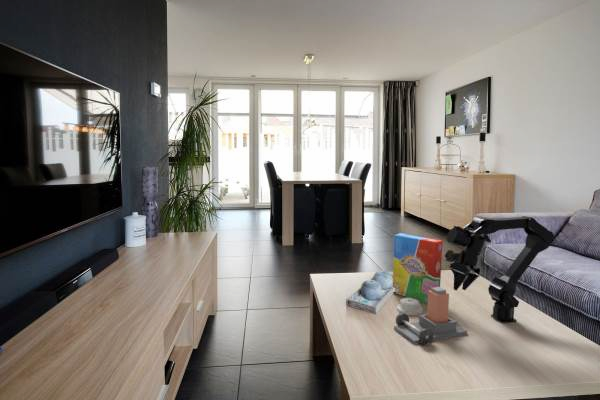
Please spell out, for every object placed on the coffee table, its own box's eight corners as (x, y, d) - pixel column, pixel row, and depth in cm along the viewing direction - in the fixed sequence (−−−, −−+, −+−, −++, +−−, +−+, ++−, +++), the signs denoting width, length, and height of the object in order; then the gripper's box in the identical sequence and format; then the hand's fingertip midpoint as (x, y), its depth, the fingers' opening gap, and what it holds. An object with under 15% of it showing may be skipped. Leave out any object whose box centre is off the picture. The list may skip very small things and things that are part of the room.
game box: (391, 292, 178) (393, 234, 175) (398, 290, 182) (400, 232, 179) (434, 305, 163) (436, 241, 160) (440, 302, 166) (443, 239, 163)
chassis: (441, 319, 149) (442, 306, 149) (470, 335, 135) (470, 322, 135) (391, 327, 142) (392, 314, 142) (416, 346, 128) (417, 331, 128)
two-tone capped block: (438, 323, 143) (439, 285, 141) (447, 329, 138) (449, 290, 136) (426, 325, 141) (428, 287, 140) (435, 331, 136) (437, 292, 135)
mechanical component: (397, 315, 154) (423, 317, 152) (397, 304, 154) (423, 306, 152) (396, 305, 164) (421, 307, 162) (396, 295, 163) (421, 297, 161)
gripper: (460, 244, 156) (448, 281, 157) (443, 240, 143) (429, 280, 144) (488, 254, 149) (475, 293, 150) (473, 251, 135) (458, 293, 136)
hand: (459, 289), depth 145 cm, fingers open, 9 cm apart
